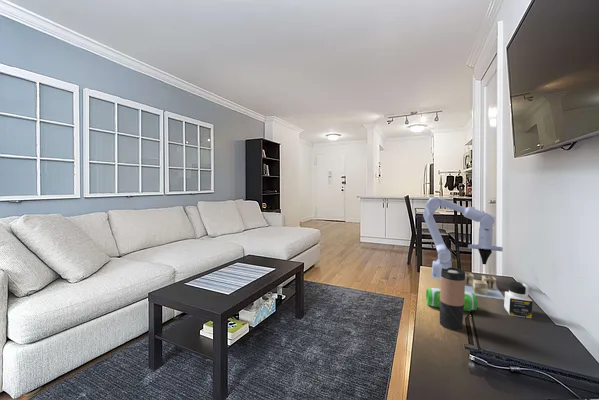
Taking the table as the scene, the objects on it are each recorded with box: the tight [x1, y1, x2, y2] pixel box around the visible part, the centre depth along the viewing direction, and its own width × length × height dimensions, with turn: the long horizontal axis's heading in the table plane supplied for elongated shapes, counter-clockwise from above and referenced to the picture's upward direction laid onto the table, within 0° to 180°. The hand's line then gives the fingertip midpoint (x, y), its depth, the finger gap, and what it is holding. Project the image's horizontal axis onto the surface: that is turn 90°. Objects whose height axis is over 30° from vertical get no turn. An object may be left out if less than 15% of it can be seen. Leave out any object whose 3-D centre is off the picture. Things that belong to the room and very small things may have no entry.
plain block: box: [473, 278, 488, 295], centre depth 131 cm, size 5×5×5 cm
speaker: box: [425, 287, 478, 312], centre depth 116 cm, size 18×7×8 cm, turn 73°
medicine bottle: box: [503, 281, 533, 319], centre depth 111 cm, size 7×7×12 cm
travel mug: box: [439, 267, 466, 331], centre depth 101 cm, size 8×8×20 cm
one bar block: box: [465, 272, 475, 286], centre depth 142 cm, size 5×5×5 cm
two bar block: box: [481, 275, 497, 290], centre depth 137 cm, size 5×5×5 cm
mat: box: [465, 286, 505, 300], centre depth 135 cm, size 16×20×1 cm
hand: (484, 263), depth 144 cm, fingers closed
